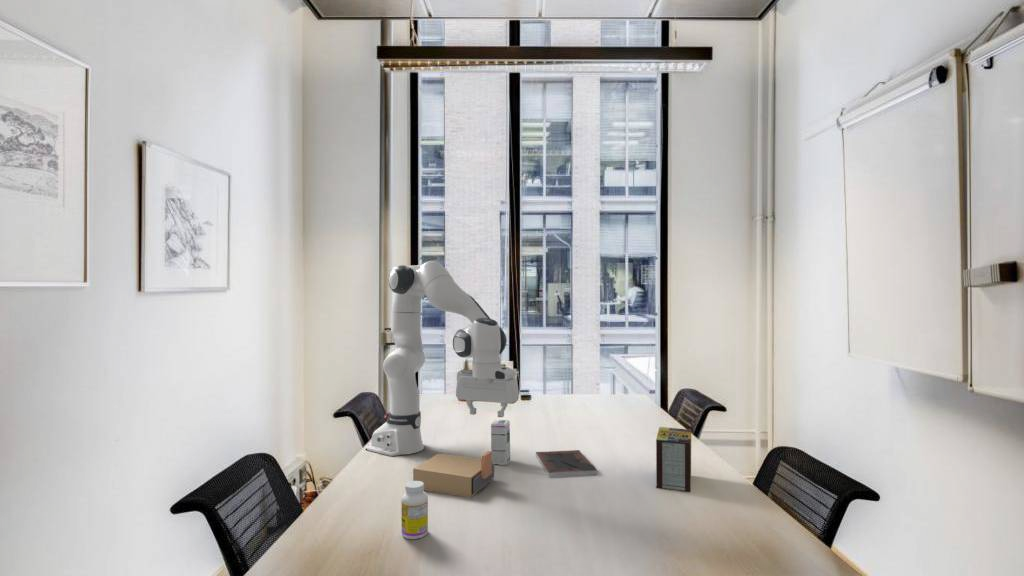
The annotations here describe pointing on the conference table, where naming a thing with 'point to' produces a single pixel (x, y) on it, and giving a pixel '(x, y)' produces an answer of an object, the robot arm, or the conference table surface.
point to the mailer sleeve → (448, 474)
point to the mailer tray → (483, 472)
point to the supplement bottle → (414, 511)
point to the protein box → (673, 459)
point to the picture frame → (565, 463)
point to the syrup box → (500, 442)
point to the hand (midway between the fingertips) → (486, 415)
